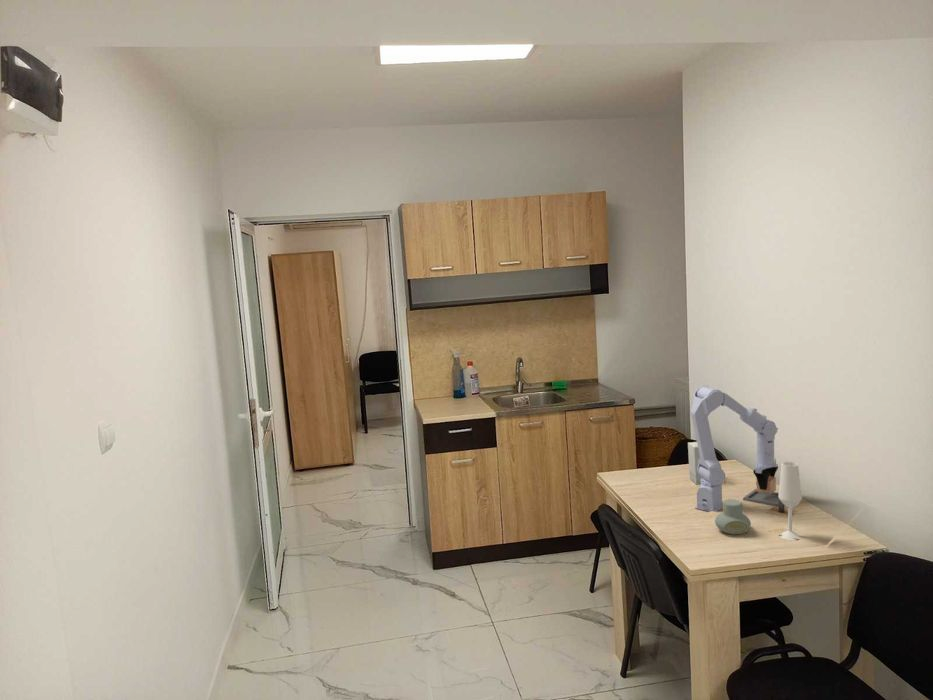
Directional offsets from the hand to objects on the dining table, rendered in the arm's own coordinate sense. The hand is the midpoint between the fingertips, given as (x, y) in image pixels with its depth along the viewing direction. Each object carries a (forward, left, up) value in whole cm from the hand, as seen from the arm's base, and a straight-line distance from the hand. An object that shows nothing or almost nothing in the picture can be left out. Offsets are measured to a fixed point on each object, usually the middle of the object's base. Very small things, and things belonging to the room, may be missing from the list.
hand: (766, 487), depth 245 cm
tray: (0, 0, -5) cm, 5 cm away
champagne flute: (-28, -18, -5) cm, 34 cm away
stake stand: (-10, -9, -5) cm, 14 cm away
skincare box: (+7, +29, -5) cm, 30 cm away
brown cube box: (0, 0, -1) cm, 1 cm away
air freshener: (-34, -2, -5) cm, 34 cm away
